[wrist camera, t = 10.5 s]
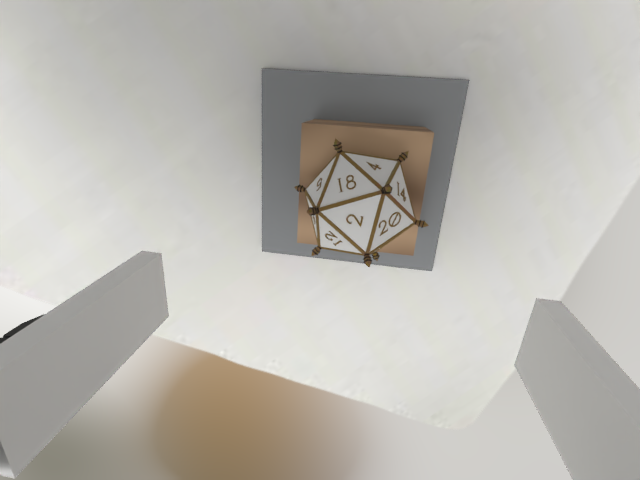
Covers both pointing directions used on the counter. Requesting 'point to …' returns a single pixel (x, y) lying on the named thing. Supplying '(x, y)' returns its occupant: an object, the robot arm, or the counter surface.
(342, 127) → the walnut block
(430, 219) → the build mat
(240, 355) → the counter surface
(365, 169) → the game die
